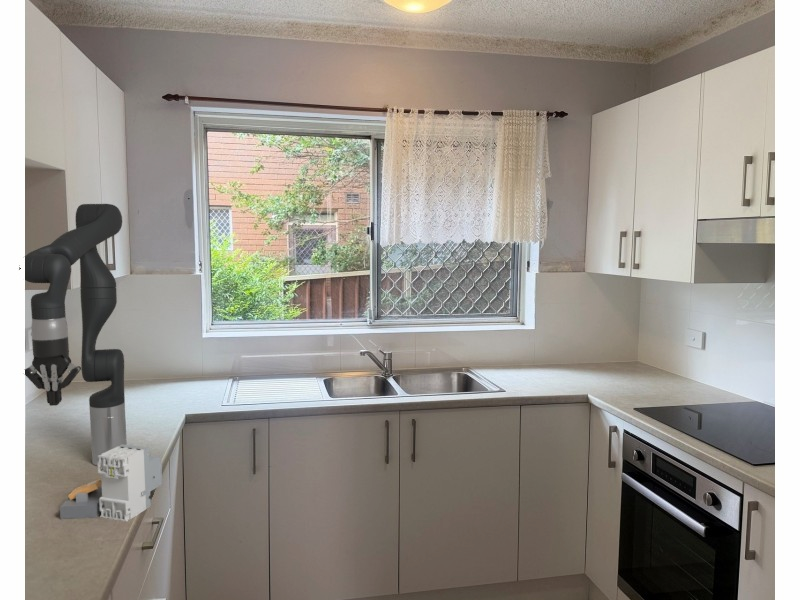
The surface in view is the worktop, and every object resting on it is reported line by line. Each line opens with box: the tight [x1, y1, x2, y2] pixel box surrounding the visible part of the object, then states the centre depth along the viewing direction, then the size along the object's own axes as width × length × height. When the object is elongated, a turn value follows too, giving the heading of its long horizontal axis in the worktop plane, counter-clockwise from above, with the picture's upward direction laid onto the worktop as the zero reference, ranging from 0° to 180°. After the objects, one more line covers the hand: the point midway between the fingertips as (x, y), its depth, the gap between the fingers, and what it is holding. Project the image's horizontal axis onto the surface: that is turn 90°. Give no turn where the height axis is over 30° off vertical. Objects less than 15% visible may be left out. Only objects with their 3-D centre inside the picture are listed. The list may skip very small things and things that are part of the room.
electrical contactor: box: [97, 444, 163, 523], centre depth 140 cm, size 8×14×15 cm, turn 164°
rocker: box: [67, 477, 102, 500], centre depth 139 cm, size 4×7×2 cm, turn 97°
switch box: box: [59, 486, 104, 520], centre depth 139 cm, size 10×8×5 cm
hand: (54, 404), depth 141 cm, fingers closed
